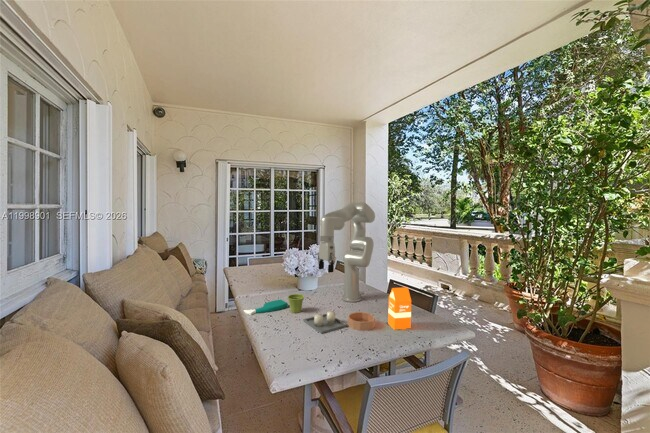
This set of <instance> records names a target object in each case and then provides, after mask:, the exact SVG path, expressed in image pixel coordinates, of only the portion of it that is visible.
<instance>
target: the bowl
mask: <svg viewBox="0 0 650 433" xmlns="http://www.w3.org/2000/svg"><path fill="white" fill-rule="evenodd" d="M375 326H376V317H375V316H374V315H373V314H371V313H369V312H364V311H355V312H351V313H349V314H348V315H347V327H349V328H351V330H352V329H353V330H356V331H360V332H361V331H370V330H373V329H374V328H375Z"/></svg>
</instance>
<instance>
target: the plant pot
mask: <svg viewBox="0 0 650 433" xmlns="http://www.w3.org/2000/svg"><path fill="white" fill-rule="evenodd" d="M304 298H305V296H304V294H301V293H295V294H294V293H293V294H290V295H288V296H287V299H288V303H289V304H288V305H289V310H290V313H292V314H298V313H299V314H300V313H301V312H302V307H303V301H304Z"/></svg>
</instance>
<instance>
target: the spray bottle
mask: <svg viewBox="0 0 650 433" xmlns="http://www.w3.org/2000/svg"><path fill="white" fill-rule="evenodd" d="M288 307H289V304H288V302H287V301H285V300H283V299H276V300H272V301H268V302H265V303H264V304H263V306H261V307H258V308H254V309H253V308H251V309H243V313H245V314H246V315H249V316H252V315H254V314H261V313H263V314H264V313H271V312H272V313H273V312H275V311H280V310H283V309H287V308H288Z"/></svg>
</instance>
